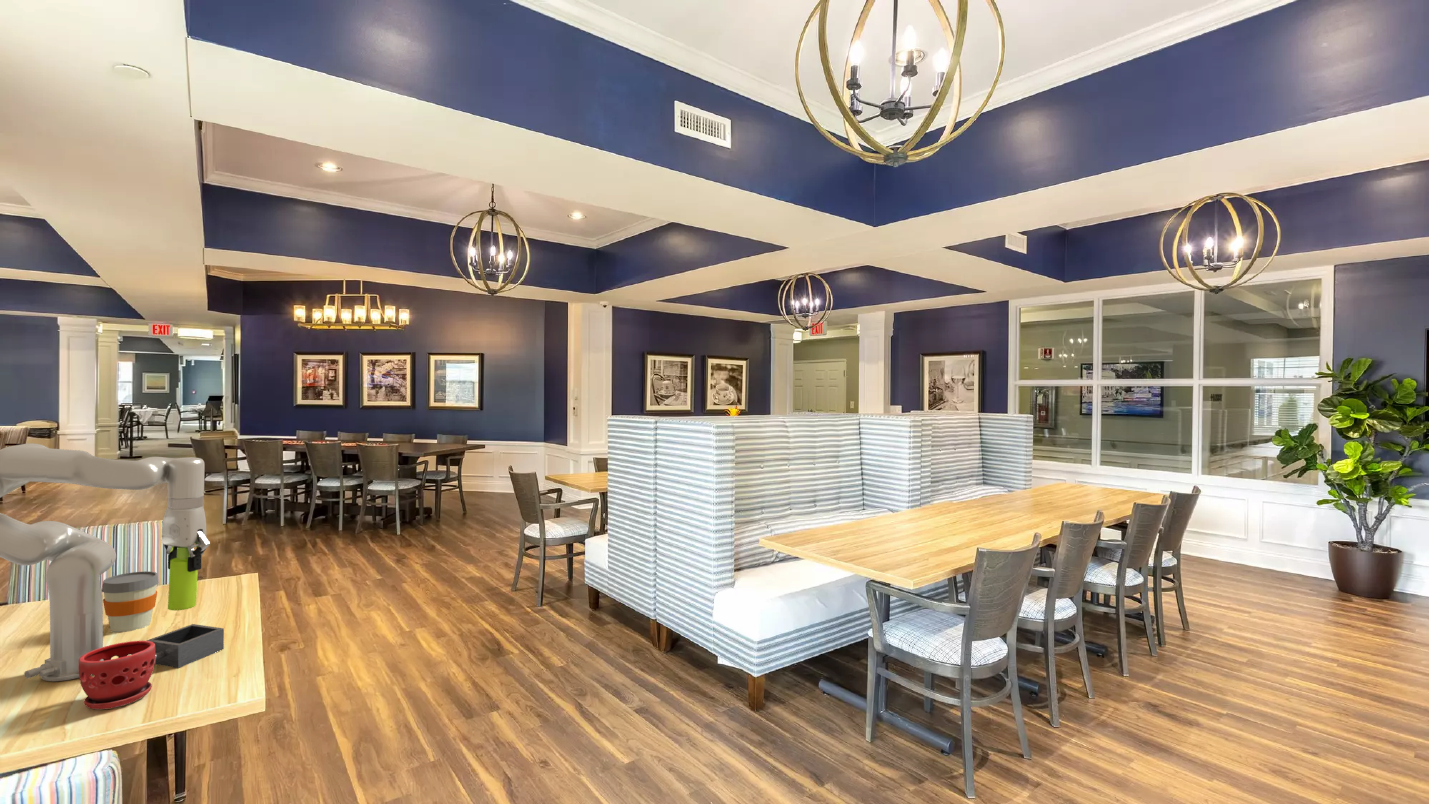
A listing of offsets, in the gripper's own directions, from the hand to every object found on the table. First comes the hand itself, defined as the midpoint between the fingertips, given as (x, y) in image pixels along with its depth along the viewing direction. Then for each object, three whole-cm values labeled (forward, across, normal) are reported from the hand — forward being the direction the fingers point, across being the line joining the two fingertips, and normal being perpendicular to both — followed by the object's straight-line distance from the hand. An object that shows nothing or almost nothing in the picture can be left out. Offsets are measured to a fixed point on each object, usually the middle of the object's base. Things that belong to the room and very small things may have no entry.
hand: (184, 568), depth 170 cm
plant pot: (+25, +10, -22) cm, 34 cm away
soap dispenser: (+11, 0, 0) cm, 11 cm away
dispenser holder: (+24, 0, -2) cm, 24 cm away
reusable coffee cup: (+25, -36, +11) cm, 45 cm away
